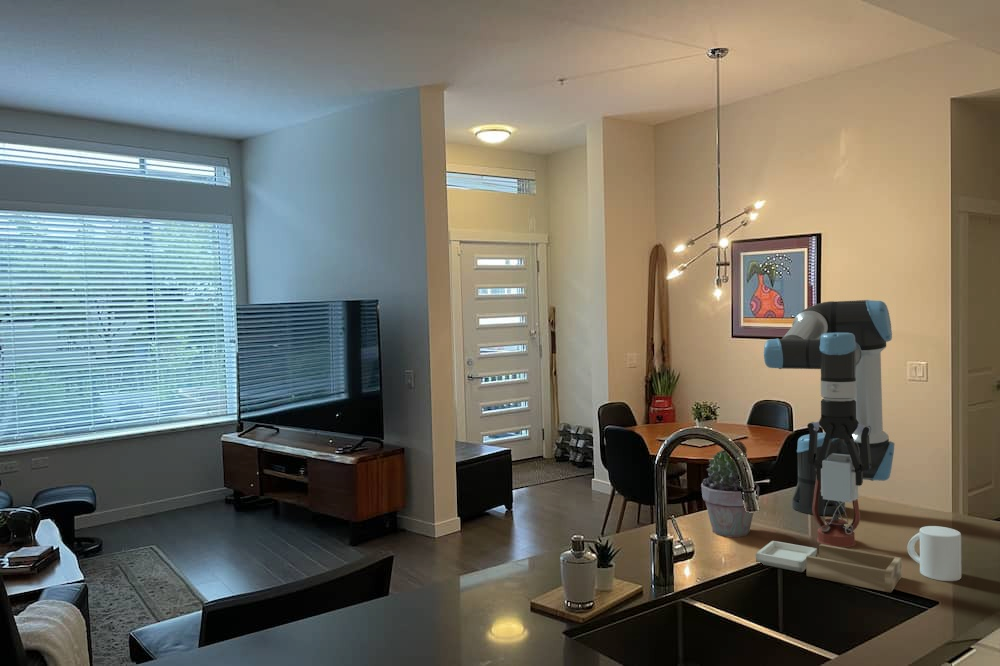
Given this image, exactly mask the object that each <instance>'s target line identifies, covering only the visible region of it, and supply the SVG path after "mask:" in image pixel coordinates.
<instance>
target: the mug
mask: <svg viewBox="0 0 1000 666" xmlns="http://www.w3.org/2000/svg"><path fill="white" fill-rule="evenodd" d="M917 541H919V554H918V553H917V552H916V550H915V545H916V543H917ZM906 547H907V548H906V550H907V553H908V555H909V556H910V558H911V559H912V560H913V561H914V562H916V563H918V564H919V573H920V574H921V575H922V576H924V577H926V578H928V579H930V580H931V579H932V580H935V581H936V580H937V581H942V582H957V581H959V580H960V579H962V533H961V532H960V531H958V530H957V529H954V528H950V527H945V526H938V525H927V526H926V525H925V526H922V527H920V528H919V532H917V533H916V534H915V535H913V536H912V537H911V538H910V540H909V541H908V543H907V546H906Z"/></svg>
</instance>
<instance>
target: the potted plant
mask: <svg viewBox="0 0 1000 666" xmlns="http://www.w3.org/2000/svg"><path fill="white" fill-rule="evenodd" d="M733 442H734V443H735V444H736V445H737V446H738V447H739V448H740V449H741V451H742V452H743V454H744V455H745V457H746V458H748V457H747V456H748V454H747V447H746V446H745V444H744V443H743V442H742V441H740V440H734V441H732V443H733ZM709 456H712V458H711V459H708V462H709V464H708V465H705V467H706V466H708V468H706V472H707V474H708V477H707V478H704V479H703V480H702V482H701V484H700V486H699V487H698V488H697V489H699V488H700V487H701V494H702V495H701V496H702V499H703V501H704V502H705V505H706V509H707V514H708V518H709V522H710V525H711V529H712V533H714V534H716V535H718V536H722V537H727V538H739V537H738V536H741V537H745V536H748V535H749V533H750V529H751V524H752V520H753V516H754V512H753V513H749V512H746V511H745V508H744V504H743V499H742V494H741V488H740V482H739V479H738V475H737V471H736V468H735V466H734V463H733V461H732V459H731V458H730V456H729V455H728V453H727V452H726V451H725V450H724V448H723V449H722V450H720V451H717V452H716V454H709ZM748 463H749V465H750V467H751V468H753V469H754V470H756V468H755V467H754V466H753V465H754V463H751V462H750V461H748ZM754 483H755V485H756V491H757V495H758V499H759V498H760V486H759V485H758V484H759V483H756V482H754ZM747 534H748V535H747ZM744 535H745V536H744Z"/></svg>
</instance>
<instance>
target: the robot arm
mask: <svg viewBox="0 0 1000 666" xmlns="http://www.w3.org/2000/svg"><path fill="white" fill-rule="evenodd" d="M889 312H890V311H889V309H888V305H887V303H885V302H884V301H882V300H870V299H861V300H842V301H841V300H840V301H834V300H832V301H831V300H830V301H824V302H820V303H816V304H813V305H811V306H809V307H807V308H805V309H804V310H802V311H800V312H799V313H798V314H797V315H796V316H795V317H794V319H793V320H792V324H791V325H792V326H791V328H789V329H788V331H787V332H786V333H785V335H783V336H782V338H778V337H777V338H770V339H767V340H766V341H765V342H764V343H765V344H764V346H763V347H764V348H763V359H764V364H765V365H766V367H767V368H771V369H779V370H782V369H784V370H785V369H787V370H789V369H790V370H791V369H793V370H796V369H797V370H799V369H800V370H820V396H821V397H822V399H821V400H820V419H819V420H818V421H811V422H809V423H807V425H806V426H807V429H808V432H809V433H808V434H804V435H801V436H800V437H799V438H798V440H797V449H796V453H797V455H796V457H797V458H796V459H797V484H796V487H795V490H794V493H793V495H792V499H791V507H792V508H793V509H794V510H796V511H798V512H800V513H804V514H805V513H806V514H810V515H813V511H812V506H813V498H814V490H815V482H816V475H817V481H821V486H820V490H821V491H820V494H819V501H818V513H819V516H833V514H834V513H835V511H836V509H837V506H839V505H840V503H842V502H841V501H839V502H840V503H839V502H837V501H835V502H836V504H837V506H836V504H835V502H834V500H829V501H828V500H826V499H823V477H822V461H823V460H825V459H826V458H828V456H829V455H831V454H832V453H835V454H845V455H850V457H851V460H852V463H853V466H854V469H855V470H854V471H852V500H856V499H858V500H859V487H860V486H862V485H863V483H864V480H866V481H871V482H873V481H878V482H879V481H883V482H884V481H888V480H889V479H890V477H891V473H892V468H893V467H892V466H893V459H894V455H895V454H894V452H895V446H896V445H895V442H893V441H891V440H890V439H889V438H890V437H889V434H888V433H887V432H885V431H884V426H883V392H882V390H883V389H882V355H881V354H882V352H883V351H884V350H885V349H886V348H887V343H888V342H890V341H892V339H893V331H892V323H891V316H890V313H889ZM820 428H821V429H822V430H823V431H824V432H818V431H819V430H820ZM824 434H825V435H824ZM820 435H822V436H820ZM818 436H819V437H818ZM817 437H818V438H817ZM854 439H855V440H856V441H855V440H854ZM856 442H857V443H856ZM857 444H858V445H857ZM858 446H859V448H858ZM859 451H860V454H859ZM816 469H817V472H816ZM827 502H828V504H827ZM826 504H827V506H826ZM841 505H842V506H843V508H844V510H845V511H846V502H843V503H842V504H841ZM841 505H840V506H839V508H838V509H839V511H840V514H845V512H844V510H843V508H842V506H841ZM825 507H826V509H825ZM838 509H837V511H836V513H835V514H839V511H838ZM824 510H825V514H824ZM840 514H839V515H840Z"/></svg>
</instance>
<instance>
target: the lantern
mask: <svg viewBox="0 0 1000 666" xmlns="http://www.w3.org/2000/svg"><path fill="white" fill-rule="evenodd" d="M824 435H825V434H824ZM820 436H822V435H820ZM818 437H819V436H818ZM818 437H817V438H818ZM854 440H855V439H854ZM855 441H856V440H855ZM856 443H857V442H856ZM857 445H858V444H857ZM858 448H859V446H858ZM859 454H860V451H859ZM816 472H817V469H816ZM820 486H821V481H817V475H816V482H815V490H814V498H813V506H812V511H813V514H812V515H813V517H814V520H815V521H816V523H817V524H818V525H819V526H820V527H818V529H817V535H816V536H817V538H816V541H817V543H820V544H824V545H829V546H835V547H841V548H851V547H854V546H856V544H857V543H856V539H855V538H856V536H855V530H856V529H857V527H858V526H859V524H860V521H861V513H860V506H859V505H860V504H859V501H858V500H859V498H858V499H856V500H853V501H852V502H851V503H852V507H853V519H852V522H851V523H850V524H849V519H848V515H847V512H846V509H845V510H844V508H843V506H842V505H841V504H842V503H843V502H842V503H840V502H839V501H837V502H839V503H840V505H841V506H842V508H843V510H844V514H845V517H846V520H847V521H846V520H845V519H843V517H842V515H841V514H842V513H841V514H840V511H839V509H838V508H839V506H840V505H839V506H837V504H836V502H835V501H834V502H835V504H836V506H837V509H838V511H839V514H835V513H836V511H837V509H836V511H835V513H834V514H833V515H832V517H830V518H825V516H826V515H823V519H822V518H821V515H819V513H818V501H819V494H820V491H821V490H820ZM828 501H829V500H828ZM827 504H828V502H827ZM827 504H826V506H827ZM825 509H826V507H825ZM824 514H825V510H824ZM840 518H841V519H840ZM823 520H824V521H823Z"/></svg>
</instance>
